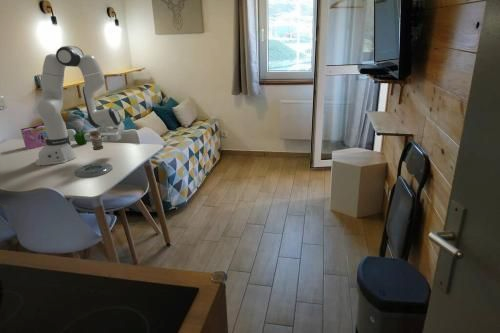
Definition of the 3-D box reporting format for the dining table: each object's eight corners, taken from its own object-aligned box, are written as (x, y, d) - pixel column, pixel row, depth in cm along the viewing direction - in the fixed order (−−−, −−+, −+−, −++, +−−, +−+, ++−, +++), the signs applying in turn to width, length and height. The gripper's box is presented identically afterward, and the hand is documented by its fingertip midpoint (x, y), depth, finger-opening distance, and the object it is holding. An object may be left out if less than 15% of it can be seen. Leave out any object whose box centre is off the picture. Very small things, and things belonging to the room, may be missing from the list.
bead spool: (93, 150, 198) (89, 133, 194) (92, 148, 203) (89, 131, 199) (103, 149, 200) (100, 132, 196) (102, 146, 205) (99, 130, 201)
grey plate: (75, 180, 188) (74, 177, 187) (74, 168, 204) (73, 165, 204) (114, 173, 196) (113, 170, 195) (110, 162, 212) (110, 159, 212)
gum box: (61, 139, 262) (56, 121, 257) (64, 141, 257) (60, 123, 252) (25, 147, 247) (20, 128, 242) (28, 149, 241) (23, 130, 236)
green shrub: (86, 145, 246) (83, 131, 242) (74, 146, 245) (71, 132, 242) (90, 141, 254) (87, 128, 250) (78, 142, 253) (75, 129, 250)
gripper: (90, 128, 211) (77, 134, 199) (122, 128, 209) (111, 134, 196) (92, 138, 214) (79, 145, 201) (124, 138, 211) (113, 145, 198)
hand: (95, 140), depth 198 cm, fingers closed on bead spool, 5 cm apart
